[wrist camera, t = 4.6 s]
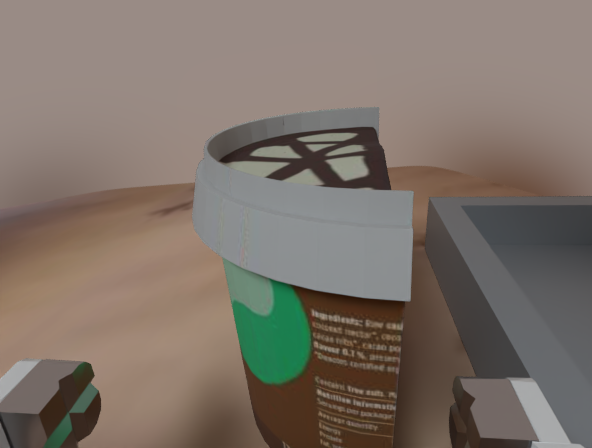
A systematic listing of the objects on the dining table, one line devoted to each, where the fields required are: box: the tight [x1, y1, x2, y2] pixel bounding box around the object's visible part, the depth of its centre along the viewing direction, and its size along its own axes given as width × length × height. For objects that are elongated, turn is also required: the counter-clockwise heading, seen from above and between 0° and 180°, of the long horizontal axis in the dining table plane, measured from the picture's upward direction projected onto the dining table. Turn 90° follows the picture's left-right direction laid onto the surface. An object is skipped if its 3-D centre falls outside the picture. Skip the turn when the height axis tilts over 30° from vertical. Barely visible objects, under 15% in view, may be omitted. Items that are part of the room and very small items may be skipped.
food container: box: [192, 107, 414, 448], centre depth 16 cm, size 12×6×10 cm, turn 173°
